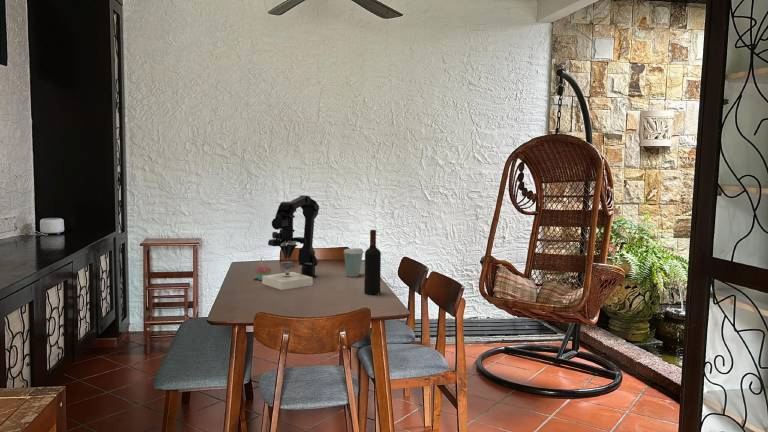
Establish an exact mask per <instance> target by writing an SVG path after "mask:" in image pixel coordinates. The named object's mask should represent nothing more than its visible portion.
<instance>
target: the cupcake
mask: <svg viewBox="0 0 768 432" xmlns="http://www.w3.org/2000/svg"><path fill="white" fill-rule="evenodd" d="M254 273H255V274H256V277H257V279H258V280H259V281H262V276H266V275H271V273H272V269H271V267H269V266H267V265H263V258H262V257H260V265H259V266H257V267H255V269H254Z"/></svg>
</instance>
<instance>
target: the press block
mask: <svg viewBox="0 0 768 432" xmlns="http://www.w3.org/2000/svg"><path fill="white" fill-rule="evenodd" d="M313 279H314V278H313V277H309V276H306V275H302V274H301V273H298V272H295V271H289V275H285V272H283V273H275V274H269V275H266V276H262V280H261V281H262V283H261V284H262V285H265V286H268V287H269V288H270V287H271V288H274V289H276V290H280V291H285V290H290V289H297V288H298V289H299V288H304V287H310V286H311V287H312V286H313Z"/></svg>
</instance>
